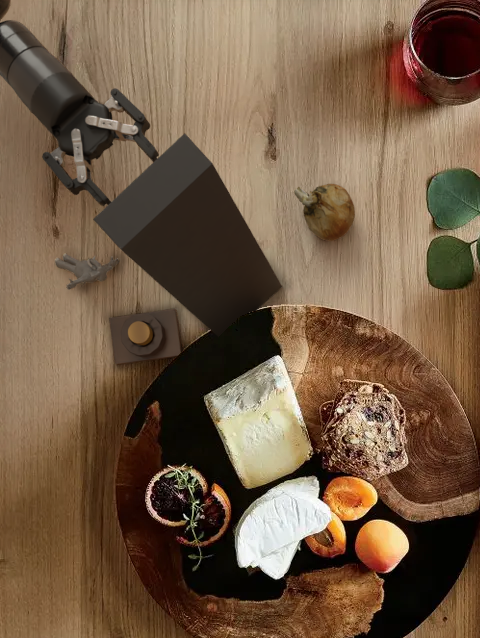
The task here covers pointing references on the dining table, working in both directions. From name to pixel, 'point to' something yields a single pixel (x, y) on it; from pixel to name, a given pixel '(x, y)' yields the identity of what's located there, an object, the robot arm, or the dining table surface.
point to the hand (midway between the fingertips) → (132, 181)
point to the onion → (327, 211)
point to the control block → (159, 347)
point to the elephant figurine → (85, 269)
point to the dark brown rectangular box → (191, 237)
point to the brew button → (140, 333)
